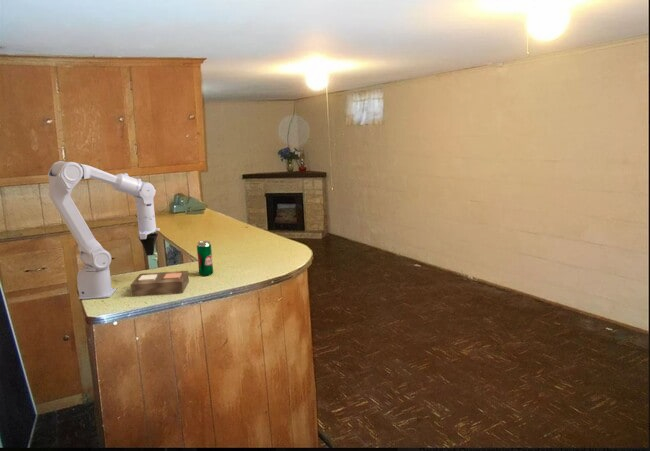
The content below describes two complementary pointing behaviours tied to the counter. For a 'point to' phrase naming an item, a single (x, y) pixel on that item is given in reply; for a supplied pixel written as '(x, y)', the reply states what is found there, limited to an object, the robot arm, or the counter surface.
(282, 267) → the counter surface
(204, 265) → the soda can
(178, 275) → the terracotta key
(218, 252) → the counter surface
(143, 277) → the offwhite key
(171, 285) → the key console
